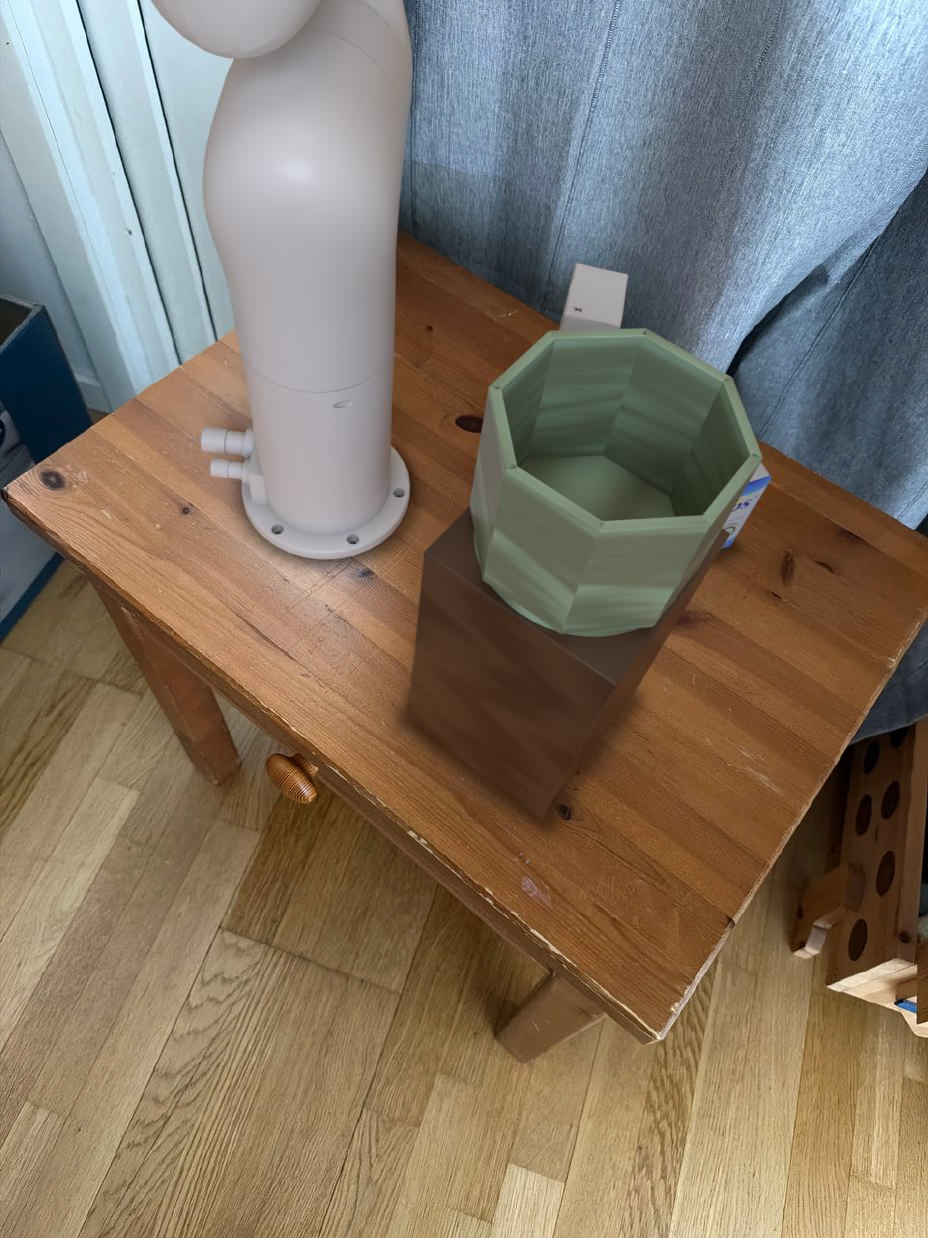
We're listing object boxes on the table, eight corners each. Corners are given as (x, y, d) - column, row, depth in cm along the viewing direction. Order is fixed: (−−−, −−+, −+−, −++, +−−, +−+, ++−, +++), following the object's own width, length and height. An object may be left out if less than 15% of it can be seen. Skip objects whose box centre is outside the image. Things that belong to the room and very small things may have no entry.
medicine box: (644, 577, 67) (678, 507, 60) (616, 531, 69) (646, 458, 62) (731, 547, 70) (775, 476, 62) (702, 503, 71) (741, 430, 64)
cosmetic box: (585, 441, 74) (621, 327, 63) (534, 429, 74) (562, 314, 63) (594, 388, 77) (630, 272, 66) (546, 377, 77) (574, 260, 66)
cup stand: (407, 719, 60) (434, 429, 35) (502, 610, 65) (586, 289, 40) (540, 820, 57) (672, 583, 33) (630, 699, 62) (803, 414, 37)
